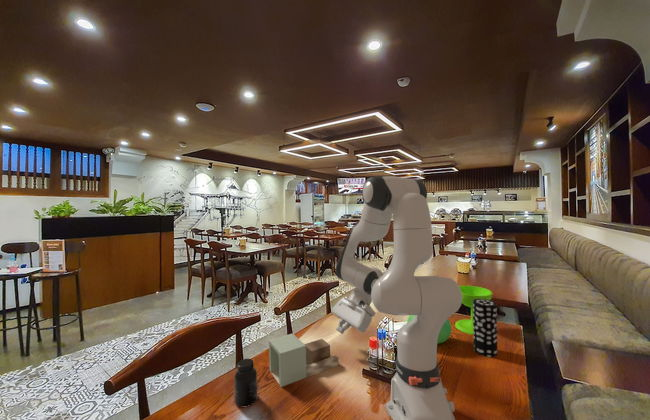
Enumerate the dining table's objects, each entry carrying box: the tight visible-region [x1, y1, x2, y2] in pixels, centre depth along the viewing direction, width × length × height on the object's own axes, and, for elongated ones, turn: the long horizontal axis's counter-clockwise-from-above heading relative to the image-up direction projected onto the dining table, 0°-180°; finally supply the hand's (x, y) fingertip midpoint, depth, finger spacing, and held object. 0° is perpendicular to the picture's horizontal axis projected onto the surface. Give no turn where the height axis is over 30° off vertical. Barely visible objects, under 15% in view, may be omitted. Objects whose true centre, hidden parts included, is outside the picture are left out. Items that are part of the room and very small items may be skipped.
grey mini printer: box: [270, 354, 340, 388], centre depth 102 cm, size 23×11×4 cm, turn 121°
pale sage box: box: [268, 333, 308, 388], centre depth 99 cm, size 10×11×11 cm
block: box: [304, 338, 331, 366], centre depth 105 cm, size 8×6×7 cm
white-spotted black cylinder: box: [472, 299, 498, 358], centre depth 111 cm, size 8×8×20 cm
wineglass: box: [454, 285, 493, 336], centre depth 132 cm, size 16×16×18 cm
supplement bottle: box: [233, 358, 258, 407], centre depth 86 cm, size 7×7×12 cm
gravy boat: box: [406, 315, 452, 345], centre depth 121 cm, size 18×17×15 cm
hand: (339, 331), depth 111 cm, fingers closed
